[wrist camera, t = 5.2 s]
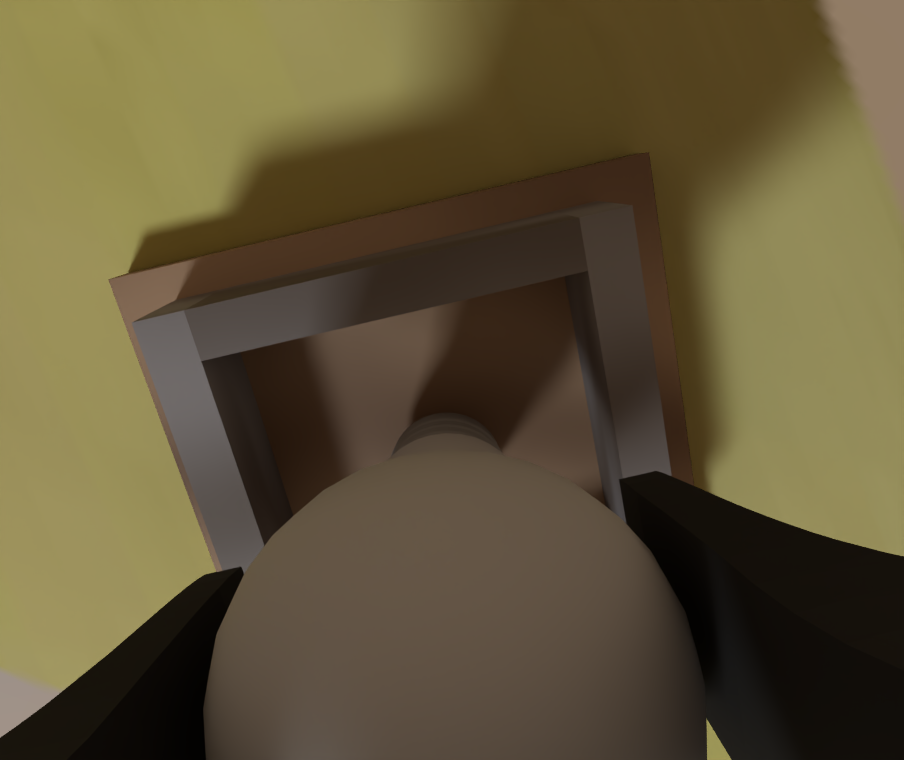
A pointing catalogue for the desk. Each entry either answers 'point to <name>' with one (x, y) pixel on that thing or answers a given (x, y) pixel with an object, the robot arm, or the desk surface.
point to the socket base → (417, 346)
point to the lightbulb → (454, 622)
